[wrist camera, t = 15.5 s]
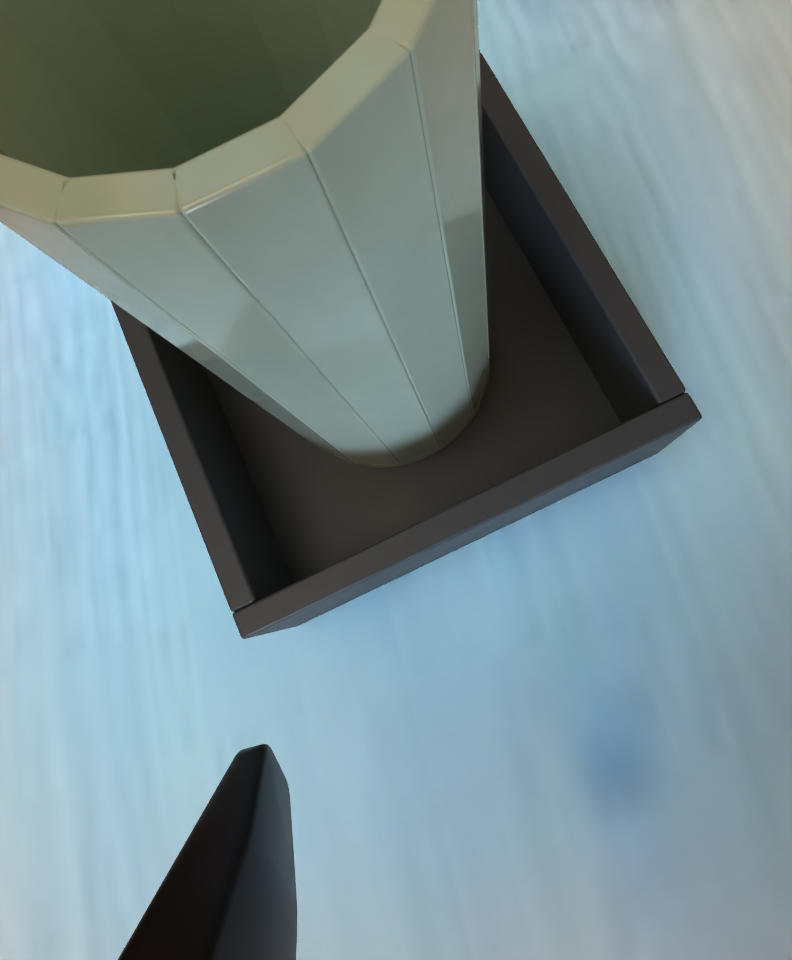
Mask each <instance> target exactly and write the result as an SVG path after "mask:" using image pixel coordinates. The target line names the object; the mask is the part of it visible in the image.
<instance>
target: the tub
mask: <svg viewBox="0 0 792 960" xmlns="http://www.w3.org/2000/svg"><path fill="white" fill-rule="evenodd" d="M479 56H480V82H481V107H482V132H483V158H484V183H485V208H486V234H487V259H488V285H489V310H490V355H491V365H490V377H489V381H488V386H487V389H486V392H485V395H484V398H483V401H482V403H481V405H480V407H479V409H478V411H477V413H476V414H475V416H474V417H473V419H472V420H471V422H470V423H469V425H468V426H467V427H466V428H465V429H464V430H463V431H462V432H461V434H460V435H459V436H458V437H457V438H455V439H454V440H453V441H452V442H451V443H450V444H448V445H447V446H446V447H444V448H443V449H441V450H440V451H438V452H437V453H435V454H433V455H431V456H429V457H427V458H425V459H422V460H419V461H417V462H414V463H411V464H406V465H402V466H397V467H384V468H380V467H367V466H362V465H357V464H353V463H350V462H347V461H344V460H342V459H340V458H338V457H336V456H334V455H332V454H330V453H328V452H326V451H324V450H321V449H319V448H318V447H317V446H315V445H314V444H312V443H311V442H310V441H308V440H307V439H305V438H304V437H303V436H301V435H300V434H298V433H297V432H296V431H294V430H293V429H291V428H290V427H288V426H287V425H286V424H284V423H283V422H281V421H280V420H279V419H277V418H276V417H274V416H273V415H272V414H270V413H269V412H267V411H266V410H265V409H263V408H262V407H260V406H259V405H258V404H256V403H255V402H253V401H252V400H250V399H249V398H248V397H246V396H245V395H243V394H242V393H241V392H239V391H238V390H236V389H235V388H234V387H232V386H231V385H229V384H228V383H227V382H225V381H224V380H222V379H221V378H220V377H218V376H217V375H215V374H214V373H212V372H211V371H210V370H208V369H207V368H205V367H204V366H203V365H201V364H200V363H198V362H197V361H196V360H194V359H193V358H191V357H190V356H189V355H187V354H186V353H184V352H183V351H182V350H180V349H179V348H177V347H176V346H175V345H173V344H172V343H170V342H169V341H167V340H166V339H165V338H163V337H162V336H160V335H159V334H158V333H156V332H155V331H153V330H152V329H151V328H149V327H148V326H146V325H145V324H144V323H142V322H141V321H139V320H138V319H137V318H135V317H134V316H132V315H131V314H129V313H128V312H127V311H125V310H124V309H122V308H121V307H120V306H118V305H117V304H115V303H114V302H113V301H111V302H112V305H113V308H114V310H115V313H116V315H117V318H118V320H119V323H120V326H121V328H122V331H123V333H124V336H125V339H126V341H127V344H128V346H129V349H130V351H131V354H132V357H133V359H134V362H135V364H136V367H137V369H138V372H139V375H140V377H141V380H142V382H143V385H144V388H145V390H146V393H147V395H148V398H149V400H150V403H151V406H152V408H153V411H154V413H155V416H156V419H157V421H158V424H159V426H160V429H161V431H162V434H163V437H164V439H165V442H166V444H167V447H168V449H169V452H170V455H171V457H172V460H173V462H174V465H175V468H176V470H177V473H178V475H179V478H180V480H181V483H182V486H183V488H184V491H185V493H186V496H187V499H188V501H189V504H190V506H191V509H192V511H193V514H194V517H195V519H196V522H197V524H198V527H199V529H200V532H201V535H202V537H203V540H204V542H205V545H206V548H207V550H208V553H209V555H210V558H211V560H212V563H213V566H214V568H215V571H216V573H217V576H218V579H219V581H220V584H221V586H222V589H223V591H224V594H225V597H226V599H227V602H228V604H229V607H230V609H231V611H232V612H234V613H233V617H234V620H235V622H236V625H237V627H238V630H239V633H240V635H241V637H242V638H243V639H246V638H250V637H254V636H258V635H262V634H266V633H271V632H275V631H279V630H283V629H287V628H291V627H296V626H298V625H300V624H302V623H305V622H307V621H309V620H311V619H313V618H315V617H317V616H319V615H321V614H323V613H325V612H327V611H330V610H332V609H334V608H336V607H338V606H340V605H342V604H344V603H346V602H348V601H350V600H352V599H355V598H357V597H359V596H361V595H363V594H365V593H367V592H369V591H371V590H373V589H375V588H378V587H380V586H382V585H384V584H386V583H388V582H390V581H392V580H394V579H396V578H398V577H400V576H403V575H405V574H407V573H409V572H411V571H413V570H415V569H417V568H419V567H421V566H423V565H425V564H428V563H430V562H432V561H434V560H436V559H438V558H440V557H442V556H444V555H446V554H448V553H450V552H453V551H455V550H457V549H459V548H461V547H463V546H465V545H467V544H469V543H471V542H473V541H475V540H478V539H480V538H482V537H484V536H486V535H488V534H490V533H492V532H494V531H496V530H498V529H500V528H503V527H505V526H507V525H509V524H511V523H513V522H515V521H517V520H519V519H521V518H523V517H526V516H528V515H530V514H532V513H534V512H536V511H538V510H540V509H542V508H544V507H546V506H548V505H551V504H553V503H555V502H557V501H559V500H561V499H563V498H565V497H567V496H569V495H571V494H573V493H576V492H578V491H580V490H582V489H584V488H586V487H588V486H590V485H592V484H594V483H596V482H598V481H601V480H603V479H605V478H607V477H609V476H611V475H613V474H615V473H617V472H619V471H621V470H623V469H626V468H628V467H630V466H632V465H634V464H636V463H638V462H640V461H642V460H644V459H646V458H648V457H651V456H653V455H655V454H657V453H658V452H660V451H661V450H662V449H663V448H665V447H666V446H667V445H668V444H670V443H671V442H672V441H673V440H675V439H676V438H677V437H679V436H680V435H681V434H682V433H684V432H685V431H686V430H687V429H689V428H690V427H691V426H693V425H694V424H695V423H696V422H698V421H699V420H700V419H701V418H702V416H701V413H700V412H699V410H698V409H697V407H696V405H695V404H694V402H693V400H692V399H691V397H690V395H689V394H688V393H684V392H685V387H684V386H683V384H682V382H681V381H680V379H679V377H678V376H677V374H676V372H675V371H674V369H673V368H672V366H671V364H670V363H669V361H668V359H667V358H666V356H665V354H664V353H663V351H662V349H661V348H660V346H659V345H658V343H657V341H656V340H655V338H654V336H653V335H652V333H651V331H650V330H649V328H648V326H647V325H646V323H645V322H644V320H643V318H642V317H641V315H640V313H639V312H638V310H637V308H636V307H635V305H634V303H633V302H632V300H631V299H630V297H629V295H628V294H627V292H626V290H625V289H624V287H623V285H622V284H621V282H620V280H619V279H618V277H617V276H616V274H615V272H614V271H613V269H612V267H611V266H610V264H609V262H608V261H607V259H606V257H605V256H604V254H603V253H602V251H601V249H600V248H599V246H598V244H597V243H596V241H595V239H594V238H593V236H592V234H591V233H590V231H589V230H588V228H587V226H586V225H585V223H584V221H583V220H582V218H581V216H580V215H579V213H578V211H577V210H576V208H575V206H574V205H573V203H572V202H571V200H570V198H569V197H568V195H567V193H566V192H565V190H564V188H563V187H562V185H561V183H560V182H559V180H558V179H557V177H556V175H555V174H554V172H553V170H552V169H551V167H550V165H549V164H548V162H547V160H546V159H545V157H544V156H543V154H542V152H541V151H540V149H539V147H538V146H537V144H536V142H535V141H534V139H533V137H532V136H531V134H530V133H529V131H528V129H527V128H526V126H525V124H524V123H523V121H522V119H521V118H520V116H519V114H518V113H517V111H516V110H515V108H514V106H513V105H512V103H511V101H510V100H509V98H508V96H507V95H506V93H505V91H504V90H503V88H502V87H501V85H500V83H499V82H498V80H497V78H496V77H495V75H494V73H493V72H492V70H491V68H490V67H489V65H488V64H487V62H486V60H485V59H484V57H483V55H482V54H481V53H480V50H479Z"/></svg>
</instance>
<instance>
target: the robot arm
mask: <svg viewBox="0 0 792 960" xmlns="http://www.w3.org/2000/svg"><path fill="white" fill-rule="evenodd" d="M296 944H297V899H296V882H295V867H294V852H293V837H292V821H291V806H290V794H289V788H288V784H287V780H286V778H285V776H284V774H283V772H282V770H281V768H280V766H279V764H278V761H277V759H276V757H275V755H274V753H273V751H272V749H271V748H270V747H269V746H268V745H266V744H262V745H258V746H254V747H250V748H247V749H243V750H241V751H240V752H239V753H238V754H237V755H236V756H235V758H234V759H233V761H232V763H231V765H230V766H229V768H228V770H227V772H226V773H225V775H224V777H223V778H222V780H221V782H220V784H219V785H218V787H217V789H216V791H215V792H214V794H213V796H212V798H211V799H210V801H209V803H208V804H207V806H206V808H205V810H204V811H203V813H202V815H201V817H200V818H199V820H198V822H197V824H196V825H195V827H194V829H193V830H192V832H191V834H190V836H189V837H188V839H187V841H186V843H185V844H184V846H183V848H182V850H181V851H180V853H179V855H178V856H177V858H176V860H175V862H174V863H173V865H172V867H171V869H170V870H169V872H168V874H167V876H166V877H165V879H164V881H163V882H162V884H161V886H160V888H159V889H158V891H157V893H156V895H155V896H154V898H153V900H152V902H151V903H150V905H149V907H148V908H147V910H146V912H145V914H144V915H143V917H142V919H141V921H140V922H139V924H138V926H137V928H136V929H135V931H134V933H133V934H132V936H131V938H130V940H129V941H128V943H127V945H126V947H125V948H124V950H123V952H122V954H121V955H120V957H119V959H118V960H296Z"/></svg>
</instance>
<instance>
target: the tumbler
mask: <svg viewBox="0 0 792 960" xmlns="http://www.w3.org/2000/svg"><path fill="white" fill-rule="evenodd" d="M0 222H1V223H3V224H4V225H6V226H7V227H8V228H10V229H11V230H13V231H14V232H16V233H17V234H18V235H20V236H21V237H23V238H24V239H25V240H27V241H28V242H30V243H31V244H32V245H34V246H35V247H37V248H38V249H39V250H41V251H42V252H44V253H45V254H46V255H48V256H49V257H51V258H52V259H54V260H55V261H56V262H58V263H59V264H61V265H62V266H63V267H65V268H66V269H68V270H69V271H70V272H72V273H73V274H75V275H76V276H77V277H79V278H80V279H82V280H83V281H84V282H86V283H87V284H89V285H90V286H91V287H93V288H94V289H96V290H97V291H99V292H100V293H101V294H103V295H104V296H106V297H107V298H108V299H110V300H111V301H113V302H114V303H115V304H117V305H118V306H120V307H121V308H122V309H124V310H125V311H127V312H128V313H129V314H131V315H132V316H134V317H135V318H137V319H138V320H139V321H141V322H142V323H144V324H145V325H146V326H148V327H149V328H151V329H152V330H153V331H155V332H156V333H158V334H159V335H160V336H162V337H163V338H165V339H166V340H167V341H169V342H170V343H172V344H173V345H175V346H176V347H177V348H179V349H180V350H182V351H183V352H184V353H186V354H187V355H189V356H190V357H191V358H193V359H194V360H196V361H197V362H198V363H200V364H201V365H203V366H204V367H205V368H207V369H208V370H210V371H211V372H212V373H214V374H215V375H217V376H218V377H220V378H221V379H222V380H224V381H225V382H227V383H228V384H229V385H231V386H232V387H234V388H235V389H236V390H238V391H239V392H241V393H242V394H243V395H245V396H246V397H248V398H249V399H250V400H252V401H253V402H255V403H256V404H258V405H259V406H260V407H262V408H263V409H265V410H266V411H267V412H269V413H270V414H272V415H273V416H274V417H276V418H277V419H279V420H280V421H281V422H283V423H284V424H286V425H287V426H288V427H290V428H291V429H293V430H294V431H296V432H297V433H298V434H300V435H301V436H303V437H304V438H305V439H307V440H308V441H310V442H311V443H312V444H314V445H315V446H317V447H318V448H319V449H321V450H324V451H326V452H328V453H330V454H332V455H334V456H336V457H338V458H340V459H342V460H344V461H347V462H350V463H353V464H357V465H362V466H367V467H380V468H384V467H397V466H402V465H406V464H411V463H414V462H417V461H419V460H422V459H425V458H427V457H429V456H431V455H433V454H435V453H437V452H438V451H440V450H441V449H443V448H444V447H446V446H447V445H448V444H450V443H451V442H452V441H453V440H454V439H455V438H457V437H458V436H459V435H460V434H461V432H462V431H463V430H464V429H465V428H466V427H467V426H468V425H469V423H470V422H471V420H472V419H473V417H474V416H475V414H476V413H477V411H478V409H479V407H480V405H481V403H482V401H483V398H484V395H485V392H486V389H487V386H488V381H489V377H490V365H491V355H490V310H489V285H488V259H487V234H486V208H485V183H484V158H483V132H482V107H481V82H480V56H479V31H478V5H477V0H0Z"/></svg>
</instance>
